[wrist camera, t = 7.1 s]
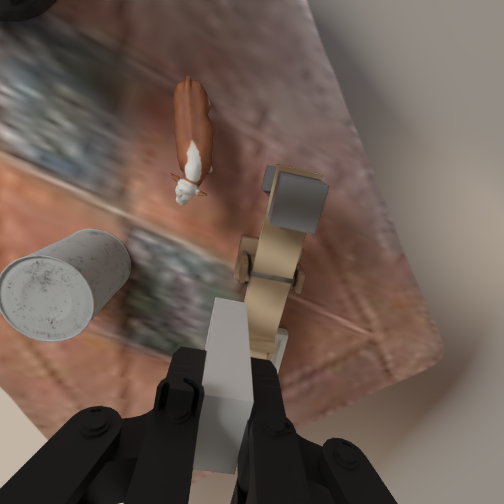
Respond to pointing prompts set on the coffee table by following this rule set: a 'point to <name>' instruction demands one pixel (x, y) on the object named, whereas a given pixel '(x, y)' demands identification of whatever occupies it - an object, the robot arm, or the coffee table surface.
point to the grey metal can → (63, 285)
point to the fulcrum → (247, 259)
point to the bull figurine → (192, 138)
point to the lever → (280, 252)
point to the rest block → (268, 178)
